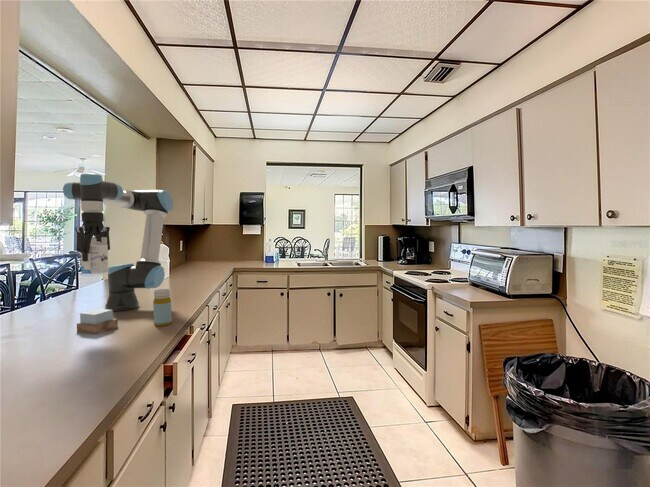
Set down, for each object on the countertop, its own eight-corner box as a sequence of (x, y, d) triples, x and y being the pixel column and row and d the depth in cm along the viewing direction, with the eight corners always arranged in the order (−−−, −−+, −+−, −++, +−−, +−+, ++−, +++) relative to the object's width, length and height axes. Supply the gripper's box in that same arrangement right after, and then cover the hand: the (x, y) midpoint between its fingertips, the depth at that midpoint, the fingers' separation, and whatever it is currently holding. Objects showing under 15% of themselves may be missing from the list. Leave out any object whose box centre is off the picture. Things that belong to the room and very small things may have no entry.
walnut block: (99, 326, 147) (99, 317, 147) (117, 328, 145) (117, 318, 145) (77, 333, 138) (76, 323, 138) (96, 335, 135) (95, 325, 135)
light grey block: (98, 317, 146) (98, 308, 146) (112, 319, 144) (112, 309, 144) (80, 322, 139) (79, 313, 138) (95, 324, 136) (94, 314, 136)
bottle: (151, 324, 149) (150, 290, 148) (167, 320, 154) (166, 288, 153) (157, 327, 144) (156, 292, 143) (174, 324, 149) (173, 290, 148)
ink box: (80, 273, 138) (79, 237, 137) (89, 271, 143) (88, 236, 142) (100, 273, 137) (99, 237, 136) (109, 272, 142) (107, 236, 141)
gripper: (105, 212, 148) (107, 265, 150) (62, 211, 130) (65, 271, 132) (119, 212, 147) (121, 265, 148) (77, 211, 129) (80, 271, 130)
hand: (94, 268), depth 140 cm, fingers closed on ink box, 6 cm apart
